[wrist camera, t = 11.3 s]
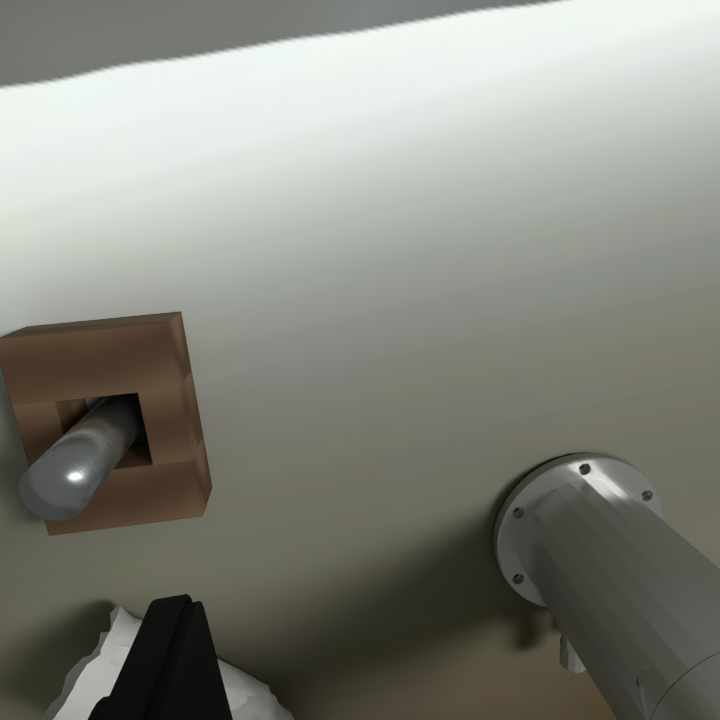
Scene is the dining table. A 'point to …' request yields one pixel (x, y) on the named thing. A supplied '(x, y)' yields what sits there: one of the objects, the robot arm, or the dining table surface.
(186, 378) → the hole block
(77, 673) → the white plastic bottle
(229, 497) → the dining table surface
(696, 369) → the dining table surface
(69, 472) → the peg
